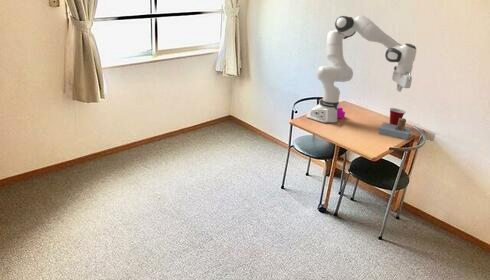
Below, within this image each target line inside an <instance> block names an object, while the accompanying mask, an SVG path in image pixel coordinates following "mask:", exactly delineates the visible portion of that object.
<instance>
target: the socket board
mask: <svg viewBox="0 0 490 280" xmlns="http://www.w3.org/2000/svg"><path fill="white" fill-rule="evenodd" d="M396 129H397V125H393V124H390V123H387V122H383V123H382V124H381V125H380V127H379V132H378V134H379V135H384V136H387V137H388V136H389V137H392V138H397V139H402V140H405V141H408V139H409V136H410V134H411V131H412V128H411V127H408V126H405V128H404V131H400V130H396Z"/></svg>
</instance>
